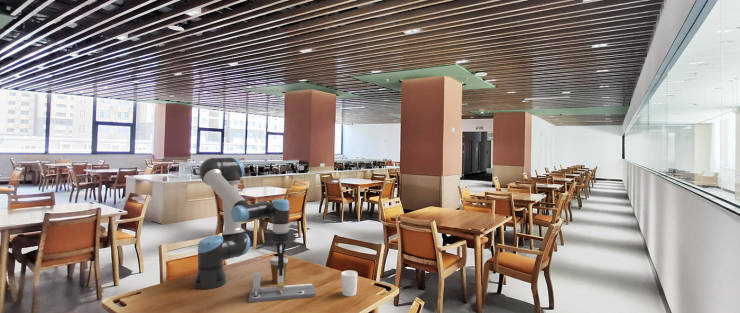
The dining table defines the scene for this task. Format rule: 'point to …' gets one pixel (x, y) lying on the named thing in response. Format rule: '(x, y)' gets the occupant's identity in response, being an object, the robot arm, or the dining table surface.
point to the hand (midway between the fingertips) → (280, 280)
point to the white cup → (349, 282)
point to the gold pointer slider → (281, 284)
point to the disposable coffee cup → (275, 271)
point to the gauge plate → (274, 292)
